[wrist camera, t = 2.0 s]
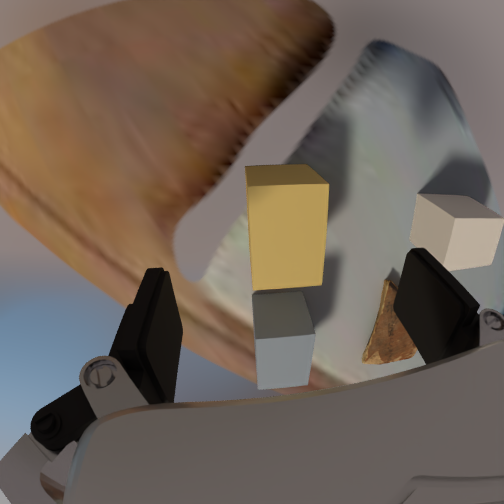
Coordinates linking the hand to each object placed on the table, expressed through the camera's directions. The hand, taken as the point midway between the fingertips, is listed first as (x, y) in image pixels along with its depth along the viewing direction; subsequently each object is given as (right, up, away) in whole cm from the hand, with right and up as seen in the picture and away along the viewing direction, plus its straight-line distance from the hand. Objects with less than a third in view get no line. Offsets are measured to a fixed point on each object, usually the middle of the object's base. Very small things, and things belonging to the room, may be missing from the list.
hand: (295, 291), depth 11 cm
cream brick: (+14, +4, +10) cm, 18 cm away
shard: (+12, -6, +16) cm, 20 cm away
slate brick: (+1, -4, +14) cm, 14 cm away
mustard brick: (0, +4, +9) cm, 10 cm away
